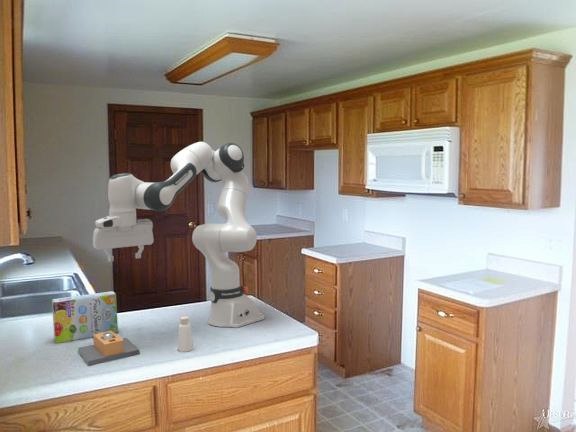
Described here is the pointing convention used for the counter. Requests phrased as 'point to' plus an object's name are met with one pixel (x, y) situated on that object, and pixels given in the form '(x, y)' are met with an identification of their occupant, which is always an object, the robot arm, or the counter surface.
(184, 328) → the pepper shaker
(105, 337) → the steel post
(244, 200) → the robot arm
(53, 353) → the counter surface
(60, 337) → the snack box
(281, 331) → the counter surface
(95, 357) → the base plate
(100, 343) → the orange block with recesses
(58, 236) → the counter surface
